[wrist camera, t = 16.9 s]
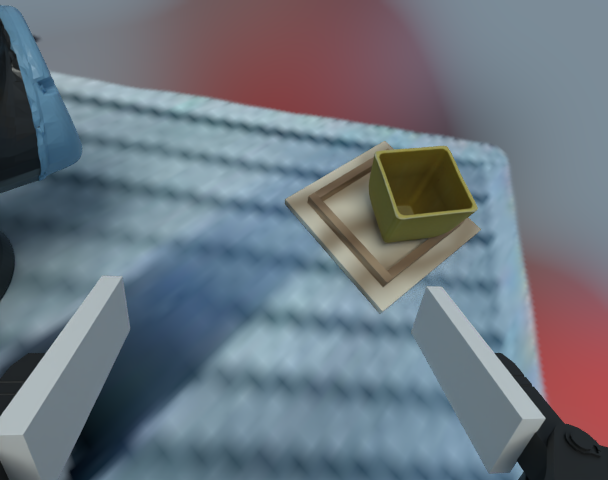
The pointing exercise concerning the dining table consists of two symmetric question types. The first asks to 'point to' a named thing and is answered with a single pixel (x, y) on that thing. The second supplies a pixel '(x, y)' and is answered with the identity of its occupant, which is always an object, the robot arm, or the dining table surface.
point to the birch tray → (369, 233)
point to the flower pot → (418, 193)
